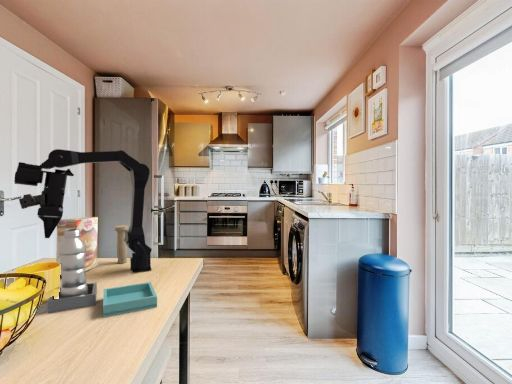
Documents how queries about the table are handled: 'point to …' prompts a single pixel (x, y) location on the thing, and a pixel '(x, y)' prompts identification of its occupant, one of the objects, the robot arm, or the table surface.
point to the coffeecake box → (81, 237)
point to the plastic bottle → (73, 265)
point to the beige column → (121, 243)
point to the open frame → (73, 300)
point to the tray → (128, 299)
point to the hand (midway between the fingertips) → (47, 236)
